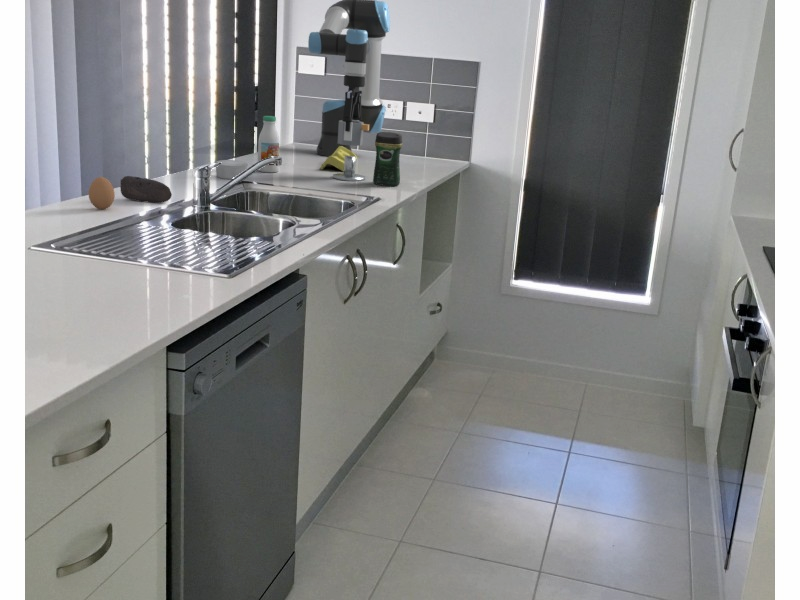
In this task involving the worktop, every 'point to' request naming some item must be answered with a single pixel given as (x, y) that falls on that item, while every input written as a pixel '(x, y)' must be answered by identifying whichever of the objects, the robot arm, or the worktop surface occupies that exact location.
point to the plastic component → (338, 158)
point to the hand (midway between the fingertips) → (351, 139)
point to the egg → (101, 193)
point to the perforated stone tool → (144, 189)
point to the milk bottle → (268, 143)
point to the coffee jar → (387, 159)
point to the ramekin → (230, 168)
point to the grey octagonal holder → (356, 133)
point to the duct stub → (349, 171)
